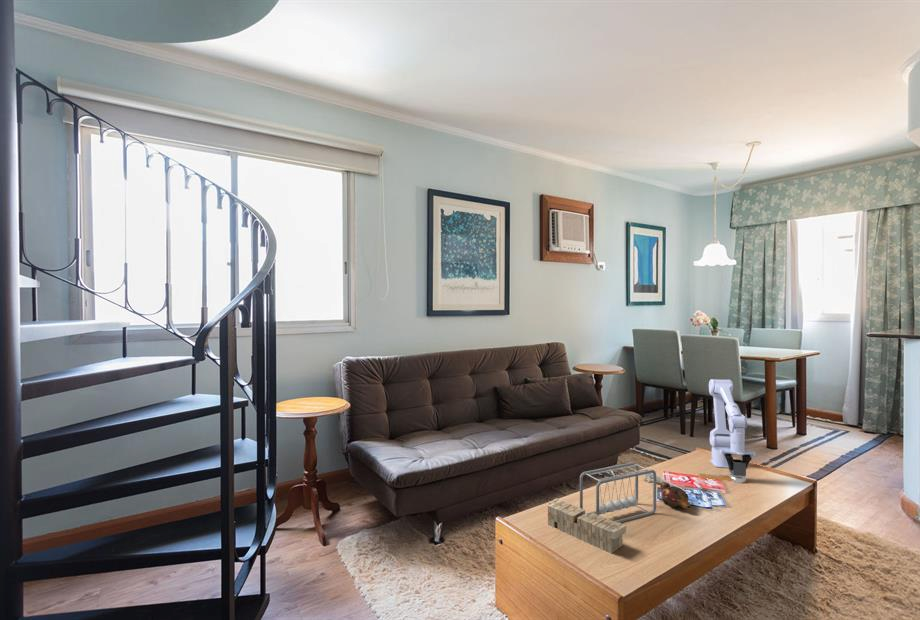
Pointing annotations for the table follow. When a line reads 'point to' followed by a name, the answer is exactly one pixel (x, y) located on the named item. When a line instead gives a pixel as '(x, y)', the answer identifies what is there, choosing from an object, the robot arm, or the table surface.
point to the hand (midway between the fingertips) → (737, 470)
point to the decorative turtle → (674, 496)
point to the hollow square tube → (738, 467)
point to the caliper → (658, 479)
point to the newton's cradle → (624, 502)
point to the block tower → (586, 525)
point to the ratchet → (724, 477)
